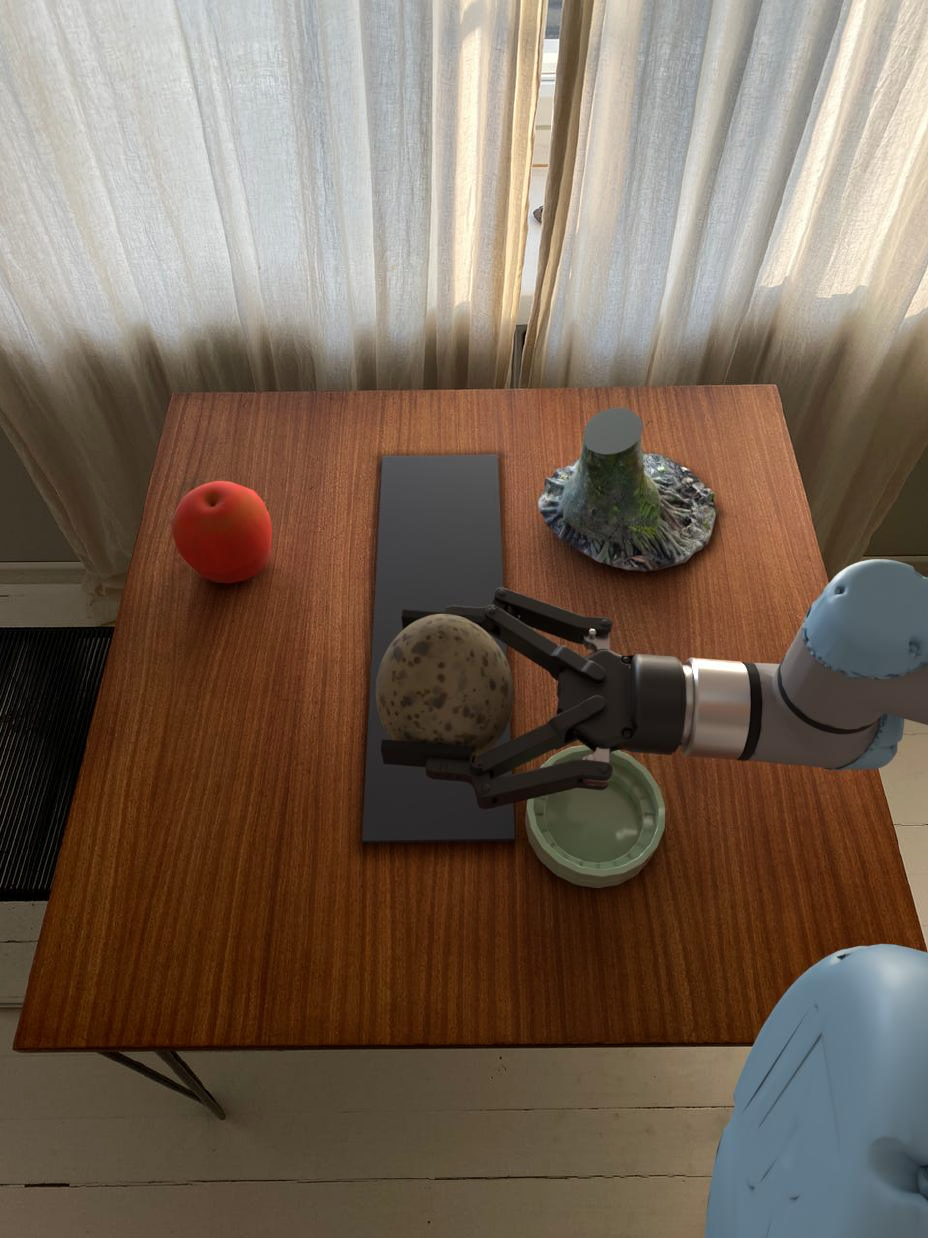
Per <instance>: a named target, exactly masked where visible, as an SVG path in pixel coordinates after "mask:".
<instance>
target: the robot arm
mask: <svg viewBox="0 0 928 1238" xmlns="http://www.w3.org/2000/svg"><path fill="white" fill-rule="evenodd" d="M435 614H451V615H456V616H460V617H463V618H466V619H468V620H470V621H472V622H473V623H475V624H477V625H478V626H480V627H481V628H482V629H484V630H485V631H486V632H487V633H488V634H491V635H493V636H494V637H496V638H497V639H499V640H500V641H502V642H503V643H505V644H506V646H508V647H509V648H511V649H513V650H514V651H516V652H517V653H519V654H521V655H522V656H523V657H525V658H526V659H528V660H530V661H531V662H532V663H534V664H536V665H538V666H539V667H541V668H542V669H543V670H545V671H547V672H548V673H549V675H550V677H551V678H552V679H554V680H555V681H557V685H556V696H557V706H556V710H555V711H556V712H555V716H553V717H552V718H550V719H549V720H548V721H547V722H545V723H544V724H542V725H539V726H537V727H536V728H533V729H531V730H529V731H527V732H525V733H523V734H521V735H518V736H516V737H515V738H513V739H512V738H511V740H510V741H508V742H506V743H504V744H502V745H500V746H498V747H496V748H494V749H492V750H490V751H488V752H486V753H484V754H481V755H479V756H477V757H475V754H473V755H472V756H471V746H460V745H447V744H435V743H422V742H410V741H398V740H385V739H382V743H381V753H382V758H383V762H384V764H392V765H404V766H416V767H426V776H427V777H429V778H432V779H437V780H449V781H461V782H467V783H469V784H471V785H472V786H473V788H474V791H475V795H476V798H477V804H478V806H479V807H480V808H482V809H490V808H494V807H498V806H503V805H507V804H511V803H514V804H515V803H520V802H523V801H527V800H528V799H532V798H537V797H541V796H545V795H549V794H554V793H558V792H562V791H566V790H571V789H575V788H583V789H593V790H604V789H606V788H607V787H608V784H609V781H610V778H611V775H612V772H613V769H612V766H611V765H610V753H611V752H613V751H617V750H619V751H627V752H630V753H640V754H648V755H649V754H651V755H661V756H662V755H664V756H672V754H674V753H676V752H677V750H678V749H679V752H681V753H682V755H683V756H685V757H689V758H690V757H692V758H704V759H718V760H731V761H732V760H733V761H742V762H745V761H746V762H748V761H749V762H750V761H752V762H759V763H760V762H761V763H769V764H770V763H771V764H781V765H791V766H792V765H793V766H801V767H802V766H803V767H812V768H822V769H823V770H829V771H839V772H842V771H847V770H849V771H852V770H858V771H859V770H861V771H862V770H864V771H865V770H869V771H870V770H878V769H881V768H883V767H885V766H887V765H889V763H890V762H892V761H893V760H894V758H895V757H896V755H897V753H898V745H899V744H898V743H899V742H901V741H902V739H903V736H904V729H905V720H908V721H911V722H915V723H918V724H922V725H926V726H928V577H925V576H923V575H922V574H921V573H919V572H917V570H916V569H915V567H914V566H913V565H910V564H907V563H904V562H901V561H898V560H892V559H883V558H882V559H881V558H875V559H873V558H872V559H866V560H862V561H858V562H855V563H853V564H850V565H849V566H846V567H845V568H844V569H842V570H840V571H839V572H838V573H837V574H836V575H835V576H834V577H833V578H832V579H831V580H830V582H829V583H827V584H826V585H825V587H824V588H823V590H822V592H821V593H820V594H819V596H818V597H817V598H816V599H815V601H813V603H812V604H811V606H810V607H809V608H808V609H807V612H806V614H805V616H804V620H803V622H802V624H801V626H800V628H799V629H798V631H797V633H796V635H795V637H794V639H793V641H792V642H791V644H790V646H789V648H788V650H787V651H786V653H785V655H784V656H783V659H782V660H781V661H780V663H765V662H750V661H749V662H748V661H739V660H727V659H715V658H703V657H701V658H700V657H689V658H688V659H687V660H685V662H684V663H683V662H682V661H681V660H680V659H678V657H677V656H671V655H659V654H648V653H647V654H646V653H635V654H630V655H622V654H619V653H616V652H615V651H613V650H611V633H612V629H613V626H614V625H613V624H614V623H613V621H612V619H611V618H609V617H605V616H591V615H587V616H586V615H582V614H579V613H576V612H574V611H571V610H569V609H565V608H562V607H560V606H558V605H554V604H551V603H548V602H545V601H544V600H540V599H537V598H534V597H531V596H529V595H526V594H523V593H521V592H518V591H515V590H512V589H510V588H507V587H504V588H503V587H500V588H498V589H496V590H495V594H494V597H493V599H492V601H491V602H490V604H489V605H488V606H486V607H469V606H465V607H464V606H455V605H451V606H447V607H446V610H445V612H433V611H419V610H405V609H403V610H402V616H401V618H402V626H403V630H404V629H405V628H406V627H407V626H409V625H410V624H412V623H413V622H415V621H417V620H419V619H421V618H423V617H426V616H430V615H435ZM539 631H541V632H543V633H546V634H549V635H551V636H554V637H557V638H560V639H561V640H564V641H568V642H570V643H573V644H577V645H582V646H584V647H585V649H586V650H588V651H591V650H592V652H591V653H589V654H587V655H585V656H582V655H581V654H579V653H578V652H577V651H575V650H573V649H571V648H570V647H568V646H567V645H564V644H561V645H560V644H557V643H556V642H555V641H553V640H552V639H551V638H548V637H546V636H545V635H544V634H542V633H540V632H539ZM576 741H578V742H580V743H581V744H582V745H585V746H587V747H588V748H589V749H591V750H592V751H594V753H593V754H589V755H585V756H584V757H583V758H582V760H574V761H568V762H564V763H560V764H555V765H551V766H547V767H542V768H540V767H539V768H534V769H530V770H525V771H521V772H517V773H512V775H508V776H504V777H499V776H501V775H503V774H505V773H507V772H509V771H511V770H512V771H513V770H515V769H517V768H519V767H521V766H523V765H525V764H527V763H529V762H531V761H533V760H536V759H537V758H539V757H541V756H543V755H545V754H547V753H549V752H551V751H553V750H554V751H555V750H556V751H558V750H560V749H563V748H564V747H566V746H569V745H571V744H572V743H574V742H575V743H576ZM497 777H499V778H497ZM494 778H495V779H494ZM733 1101H734V1107H733V1112H732V1114H731V1117H730V1119H729V1121H728V1123H727V1125H726V1126H725V1127H723V1130H722V1133H721V1135H720V1139H719V1142H718V1145H717V1147H716V1148H717V1149H716V1153H715V1158H714V1164H713V1168H712V1175H711V1180H710V1184H709V1185H710V1186H709V1191H708V1199H707V1208H706V1218H705V1229H704V1238H928V952H926V951H922V950H919V949H915V948H911V947H908V946H902V945H898V944H891V943H890V944H889V943H877V944H873V945H858V946H854V947H853V946H852V947H849V948H843V949H840V950H837V951H835V952H833V953H830V954H829V955H827V956H825V957H823V958H822V959H821V960H819V961H818V962H817V963H815V964H813V965H812V966H811V967H809V968H808V969H807V970H806V971H804V972H803V973H802V974H801V975H800V976H799V977H798V978H797V979H796V980H795V981H794V982H793V983H792V984H791V985H790V987H789V988H788V989H786V991H785V993H784V994H783V995H782V996H781V998H780V999H779V1000H778V1002H777V1004H776V1005H775V1006H774V1007H773V1009H772V1011H771V1013H770V1014H769V1015H768V1018H767V1019H766V1020H765V1022H764V1023H763V1025H762V1027H761V1029H760V1031H759V1032H758V1034H757V1037H756V1038H755V1041H754V1043H753V1044H752V1047H751V1049H750V1051H749V1054H748V1056H747V1057H746V1059H745V1061H744V1064H743V1066H742V1069H741V1072H740V1074H739V1076H738V1079H737V1082H736V1085H735V1088H734V1091H733Z"/></svg>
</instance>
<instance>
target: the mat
mask: <svg viewBox="0 0 928 1238" xmlns="http://www.w3.org/2000/svg"><path fill="white" fill-rule="evenodd" d="M499 476H500V475H499V455H498V454H444V455H443V454H440V455H439V454H438V455H437V454H432V455H431V454H430V455H383V456H382V457H381V475H380V493H379V495H380V496H379V512H378V514H379V515H378V531H377V532H378V533H377V551H376V568H375V569H376V570H375V584H374V585H375V587H374V606H373V622H372V623H373V624H372V642H371V643H372V645H371V661H370V663H371V664H370V680H369V681H370V682H369V698H368V699H369V700H368V718H367V737H366V756H365V774H364V791H363V792H364V793H363V794H364V795H363V811H362V812H363V813H362V829H361V830H362V831H361V843H362V844H401V843H403V844H406V843H407V844H408V843H409V844H411V843H463V842H464V843H472V842H473V843H475V842H478V843H480V842H515V841H516V827H515V825H516V824H515V807H514V806H515V805H514V804H515V803H511V804H507V805H503V806H498V807H494V808H490V809H482V808H480V807H479V806H478V804H477V798H476V795H475V791H474V788H473V786H472V785H471V784H469V783H467V782H461V781H449V780H437V779H432V778H429V777H427V776H426V767H416V766H404V765H392V764H384V762H383V758H382V753H381V743H382V739H385V740H391V738H390V737H389V735H388V734H387V732H386V730H385V729H384V727H383V724H382V722H381V719H380V717H379V713H378V709H377V703H376V681H377V676H378V671H379V667H380V665H381V662H382V659H383V657H384V655H385V653H386V651H387V649H388V648H389V646H390V644H391V643H392V642H393V640H394V639H395V638H396V637H397V635H398V634H399V633H400V632H401V631H402V630H403V626H402V618H401V616H402V610H403V609H405V610H419V611H433V612H445V610H446V607H447V606H451V605H455V606H464V607H465V606H469V607H486V606H488V605H489V604H490V602H491V601H492V599H493V597H494V594H495V590H496V589H498V588H500V587H503V588H505V586H504V563H503V545H502V544H503V543H502V542H503V541H502V522H501V520H502V519H501V501H500V479H499ZM489 635H490V636H491V637H492V638H493V639H494V640H495V642H496V643H497V644H498V646H499V647H500V649H501V650H502V652H503V654H504V655H505V657H506V660H507V661H508V655H507V654H508V653H507V651H508V650H507V644H505V643H503V642H502V641H500V640H499V639H497V638H496V637H494V636H493V635H491V634H489ZM511 737H512V736H511V720H510V721H509V724H508V726H507V728H506V730H505V732H504V733H503V735H502V737H501V738H500V739H499V741H498V742H497V743H496V744H495V745H494V747H493V748H492V749H494V748H496V747H498V746H500V745H502V744H504V743H506V742H508V741H510V740H512V738H511ZM492 749H490V750H492ZM490 750H489V751H490ZM512 774H513V770H511V771H509V772H507V773H505V774H503V775H501V776H499V777H504V776H508V775H512ZM499 777H497V778H499ZM494 779H495V778H494Z"/></svg>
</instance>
